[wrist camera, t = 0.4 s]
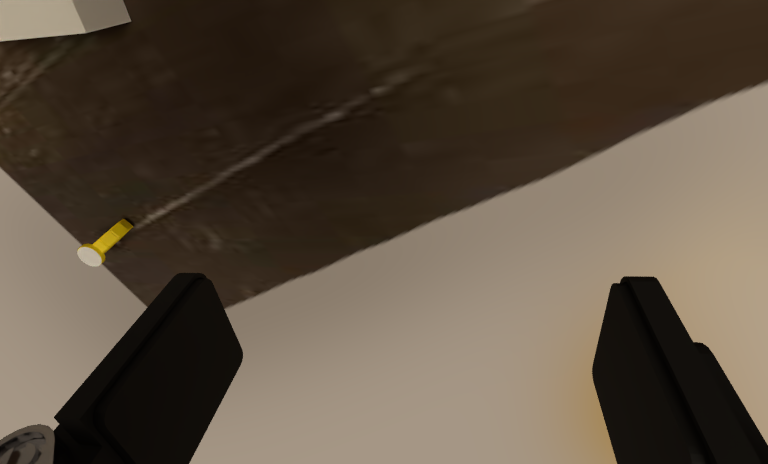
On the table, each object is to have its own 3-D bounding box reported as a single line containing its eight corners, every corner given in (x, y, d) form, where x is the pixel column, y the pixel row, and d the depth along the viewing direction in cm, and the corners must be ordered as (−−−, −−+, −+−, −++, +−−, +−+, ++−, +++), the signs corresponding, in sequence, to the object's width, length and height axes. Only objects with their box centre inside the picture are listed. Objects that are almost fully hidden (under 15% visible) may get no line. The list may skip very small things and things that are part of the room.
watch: (126, 207, 51) (92, 234, 45) (145, 223, 52) (114, 251, 46) (100, 232, 53) (65, 261, 48) (119, 247, 54) (87, 276, 49)
